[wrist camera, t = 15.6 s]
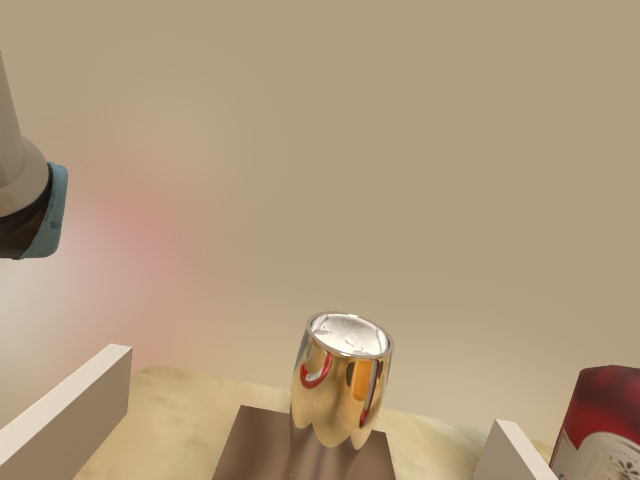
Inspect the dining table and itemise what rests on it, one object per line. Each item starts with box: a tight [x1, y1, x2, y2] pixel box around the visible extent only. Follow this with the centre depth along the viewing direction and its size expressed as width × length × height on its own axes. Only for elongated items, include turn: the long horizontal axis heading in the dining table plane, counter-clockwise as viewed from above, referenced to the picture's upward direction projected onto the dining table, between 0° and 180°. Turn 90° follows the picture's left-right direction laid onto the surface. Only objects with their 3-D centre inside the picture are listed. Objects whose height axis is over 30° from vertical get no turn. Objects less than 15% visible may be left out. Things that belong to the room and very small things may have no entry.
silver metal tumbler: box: [278, 311, 394, 480], centre depth 24 cm, size 7×7×15 cm
